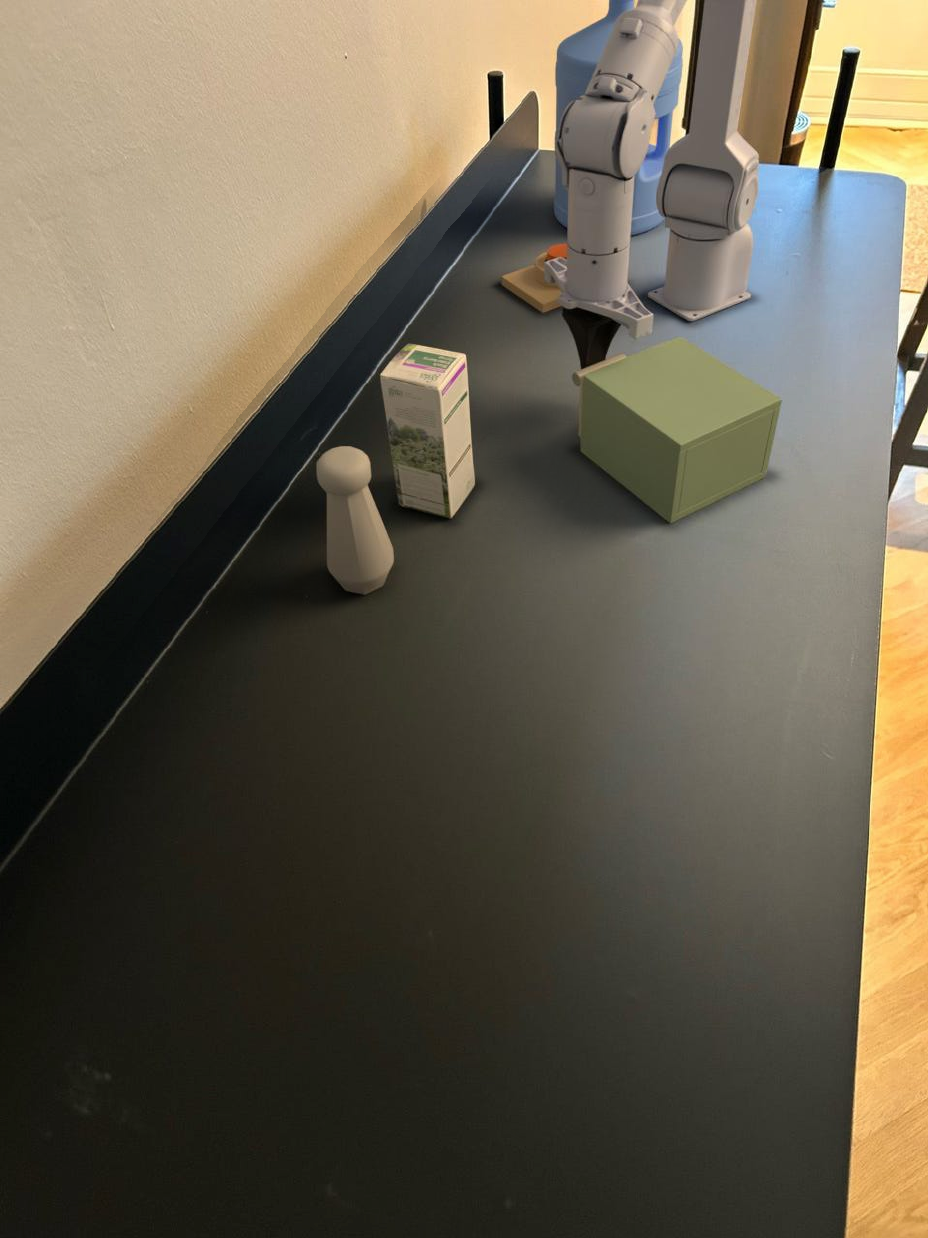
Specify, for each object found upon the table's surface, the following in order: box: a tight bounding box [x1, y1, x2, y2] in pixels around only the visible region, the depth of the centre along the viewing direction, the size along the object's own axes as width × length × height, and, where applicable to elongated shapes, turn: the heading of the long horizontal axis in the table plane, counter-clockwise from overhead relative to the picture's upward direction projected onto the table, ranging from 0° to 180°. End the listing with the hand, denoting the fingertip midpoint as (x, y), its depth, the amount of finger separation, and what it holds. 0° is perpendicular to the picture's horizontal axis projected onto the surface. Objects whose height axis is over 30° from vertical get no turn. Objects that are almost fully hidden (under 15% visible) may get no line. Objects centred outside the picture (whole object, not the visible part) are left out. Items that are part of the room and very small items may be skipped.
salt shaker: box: [316, 445, 395, 596], centre depth 78 cm, size 6×6×13 cm
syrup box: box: [379, 342, 476, 519], centre depth 85 cm, size 6×6×14 cm
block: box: [500, 251, 563, 314], centre depth 117 cm, size 12×9×3 cm
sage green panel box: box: [580, 335, 783, 524], centre depth 89 cm, size 14×12×9 cm
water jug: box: [553, 0, 684, 236], centre depth 121 cm, size 16×16×28 cm
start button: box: [546, 243, 567, 261], centre depth 116 cm, size 4×4×2 cm
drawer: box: [571, 341, 665, 438], centre depth 91 cm, size 17×10×7 cm, turn 32°
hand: (592, 371), depth 97 cm, fingers closed, pressing on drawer
